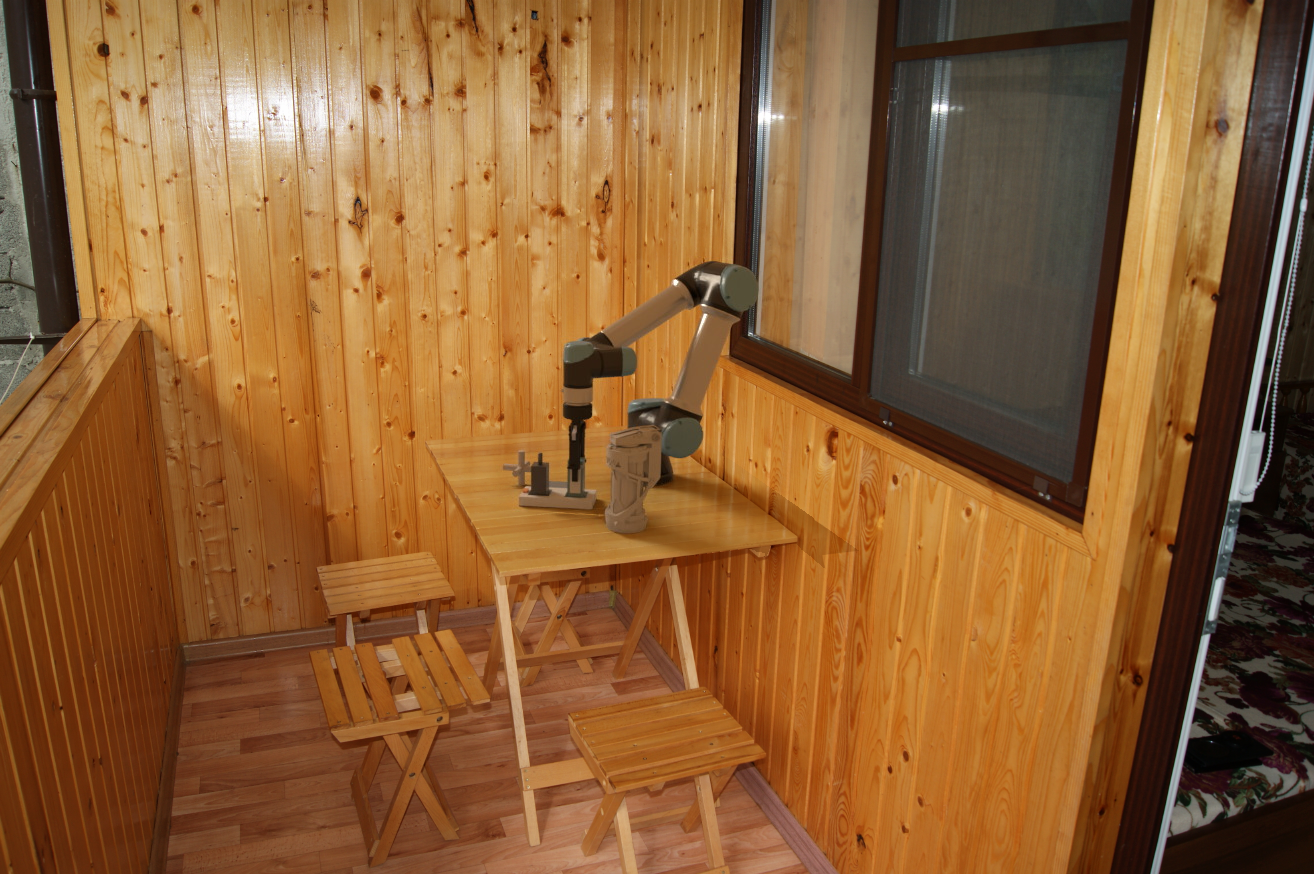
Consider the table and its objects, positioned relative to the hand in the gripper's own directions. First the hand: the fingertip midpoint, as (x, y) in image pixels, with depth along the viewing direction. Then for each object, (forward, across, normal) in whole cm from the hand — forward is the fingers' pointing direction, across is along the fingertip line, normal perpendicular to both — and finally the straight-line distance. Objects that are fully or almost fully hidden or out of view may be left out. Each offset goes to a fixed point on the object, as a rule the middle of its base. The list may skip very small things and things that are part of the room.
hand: (576, 489), depth 270 cm
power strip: (+4, 0, -5) cm, 6 cm away
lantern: (+4, +14, +16) cm, 21 cm away
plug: (+2, 0, 0) cm, 2 cm away
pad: (+4, -13, -6) cm, 15 cm away
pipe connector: (+4, -14, -17) cm, 22 cm away
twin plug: (+4, 0, -10) cm, 10 cm away
